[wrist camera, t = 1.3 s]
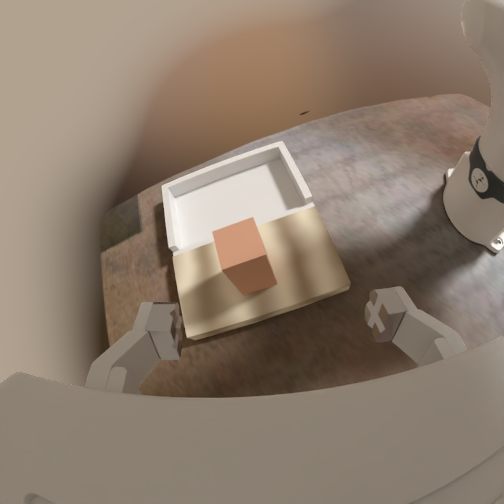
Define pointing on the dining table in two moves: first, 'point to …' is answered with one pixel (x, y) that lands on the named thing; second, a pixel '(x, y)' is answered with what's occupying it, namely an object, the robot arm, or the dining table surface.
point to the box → (233, 196)
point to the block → (244, 256)
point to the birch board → (269, 299)
